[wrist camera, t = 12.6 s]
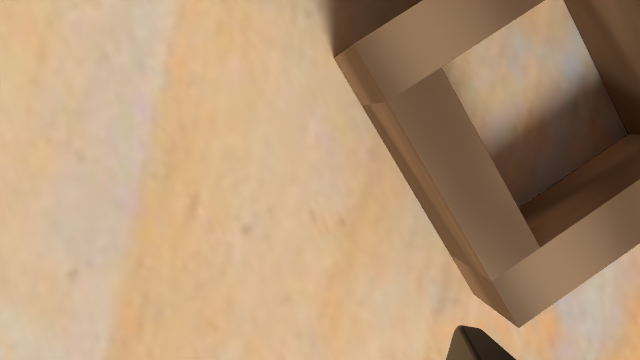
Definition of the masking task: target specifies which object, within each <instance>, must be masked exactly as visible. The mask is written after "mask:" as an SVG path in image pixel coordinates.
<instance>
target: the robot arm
mask: <svg viewBox="0 0 640 360" xmlns="http://www.w3.org/2000/svg"><path fill="white" fill-rule="evenodd" d="M446 360H516V359H515V358H514V357H512V356H511V355H510V354H509V353H508V352H507V351H506V350H504V349H503V348H502V347H501V346H500V345H499V344H498V343H496V342H495V341H494V340H493V339H492V338H491V337H490V336H488V335H487V334H486V333H485V332H484V331H483V330H481V329H479V328H474V327H468V326H462V325H460V326H458V327H457V328H456V329H455V331H454V334H453V337H452V341H451V344H450V348H449V351H448V355H447V358H446Z"/></svg>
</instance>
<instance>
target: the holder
mask: <svg viewBox="0 0 640 360" xmlns="http://www.w3.org/2000/svg"><path fill="white" fill-rule="evenodd" d="M543 1H544V0H422V1H421V2H419V3H418V4H416V5H414V6H413V7H411V8H410V9H408V10H406V11H405V12H403V13H402V14H400V15H399V16H397V17H395V18H394V19H392V20H391V21H389V22H387V23H386V24H384V25H383V26H381V27H380V28H378V29H376V30H375V31H373V32H372V33H370V34H368V35H367V36H365V37H364V38H362V39H361V40H359V41H357V42H356V43H354V44H353V45H351V46H350V47H349V48H347V49H346V50H344V51H343V52H342V53H340V54H339V55H338V56H336V57H335V58H334V59H335V61H336V63H337V64H338V66H339V68H340V69H341V71H342V73H343V74H344V76H345V78H346V79H347V81H348V83H349V84H350V86H351V88H352V90H353V91H354V93H355V95H356V96H357V98H358V100H359V101H360V103H361V105H362V106H363V108H364V110H365V111H366V113H367V115H368V116H369V118H370V120H371V122H372V123H373V125H374V127H375V128H376V130H377V132H378V133H379V135H380V137H381V138H382V140H383V142H384V143H385V145H386V147H387V149H388V150H389V152H390V154H391V155H392V157H393V159H394V160H395V162H396V164H397V165H398V167H399V169H400V170H401V172H402V174H403V175H404V177H405V179H406V181H407V182H408V184H409V186H410V187H411V189H412V191H413V192H414V194H415V196H416V197H417V199H418V201H419V202H420V204H421V206H422V208H423V209H424V211H425V213H426V214H427V216H428V218H429V219H430V221H431V223H432V224H433V226H434V228H435V229H436V231H437V233H438V234H439V236H440V238H441V240H442V241H443V243H444V245H445V246H446V248H447V250H448V251H449V253H450V255H451V256H452V258H453V260H454V261H455V263H456V265H457V266H458V268H459V270H460V272H461V273H462V275H463V277H464V278H465V280H466V282H467V283H468V285H469V287H470V288H471V290H472V292H473V293H474V295H475V296H477V297H478V298H479V299H481V300H482V301H483V302H485V303H486V304H487V305H489V306H490V307H491V308H493V309H494V310H495V311H497V312H498V313H499V314H501V315H502V316H503V317H505V318H506V319H507V320H509V321H510V322H511V323H513V324H514V325H516V326H517V327H518V328H520V327H521V326H522V325H524V324H525V323H527V322H528V321H530V320H531V319H532V318H534V317H535V316H537V315H538V314H540V313H541V312H542V311H544V310H545V309H547V308H548V307H549V306H551V305H552V304H554V303H555V302H557V301H558V300H559V299H561V298H562V297H564V296H565V295H567V294H568V293H569V292H571V291H572V290H574V289H575V288H577V287H578V286H579V285H581V284H582V283H584V282H585V281H587V280H588V279H589V278H591V277H592V276H594V275H595V274H597V273H598V272H599V271H601V270H602V269H604V268H605V267H607V266H608V265H609V264H611V263H612V262H614V261H615V260H617V259H618V258H619V257H621V256H622V255H624V254H625V253H627V252H628V251H629V250H631V249H632V248H634V247H635V246H637V245H638V244H639V243H640V0H564V1H565V3H566V5H567V7H568V9H569V11H570V14H571V16H572V18H573V20H574V22H575V24H576V26H577V28H578V30H579V32H580V34H581V37H582V39H583V41H584V43H585V45H586V47H587V49H588V51H589V53H590V55H591V57H592V59H593V62H594V64H595V66H596V68H597V70H598V72H599V74H600V76H601V78H602V80H603V82H604V84H605V87H606V89H607V91H608V93H609V95H610V97H611V99H612V101H613V103H614V105H615V107H616V110H617V112H618V114H619V116H620V118H621V120H622V122H623V124H624V126H625V128H626V130H627V132H628V135H627V136H625V137H624V138H622V139H621V140H619V141H618V142H616V143H615V144H613V145H612V146H610V147H609V148H608V149H606V150H605V151H603V152H602V153H600V154H599V155H597V156H596V157H594V158H593V159H591V160H590V161H588V162H587V163H585V164H584V165H583V166H581V167H580V168H578V169H577V170H575V171H574V172H572V173H571V174H569V175H568V176H566V177H565V178H563V179H562V180H560V181H559V182H558V183H556V184H555V185H553V186H552V187H550V188H549V189H547V190H546V191H544V192H543V193H541V194H540V195H538V196H537V197H535V198H534V199H532V200H531V201H530V202H528V203H527V204H525V205H524V206H522V207H521V208H518V206H517V204H516V203H515V201H514V199H513V197H512V195H511V193H510V192H509V190H508V188H507V186H506V184H505V183H504V181H503V179H502V177H501V175H500V173H499V172H498V170H497V168H496V166H495V164H494V162H493V161H492V159H491V157H490V155H489V153H488V152H487V150H486V148H485V146H484V144H483V142H482V141H481V139H480V137H479V135H478V133H477V131H476V130H475V128H474V126H473V124H472V122H471V121H470V119H469V117H468V115H467V113H466V111H465V110H464V108H463V106H462V104H461V102H460V100H459V99H458V97H457V95H456V93H455V91H454V89H453V88H452V86H451V84H450V82H449V80H448V79H447V77H446V75H445V73H444V71H443V69H442V68H441V67H442V66H444V65H445V64H447V63H448V62H450V61H451V60H453V59H455V58H456V57H458V56H459V55H461V54H462V53H464V52H465V51H467V50H468V49H470V48H472V47H473V46H475V45H476V44H478V43H479V42H481V41H482V40H484V39H486V38H487V37H489V36H490V35H492V34H493V33H495V32H496V31H498V30H499V29H501V28H503V27H504V26H506V25H507V24H509V23H510V22H512V21H513V20H515V19H516V18H518V17H520V16H521V15H523V14H524V13H526V12H527V11H529V10H530V9H532V8H534V7H535V6H537V5H538V4H540V3H541V2H543Z"/></svg>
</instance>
